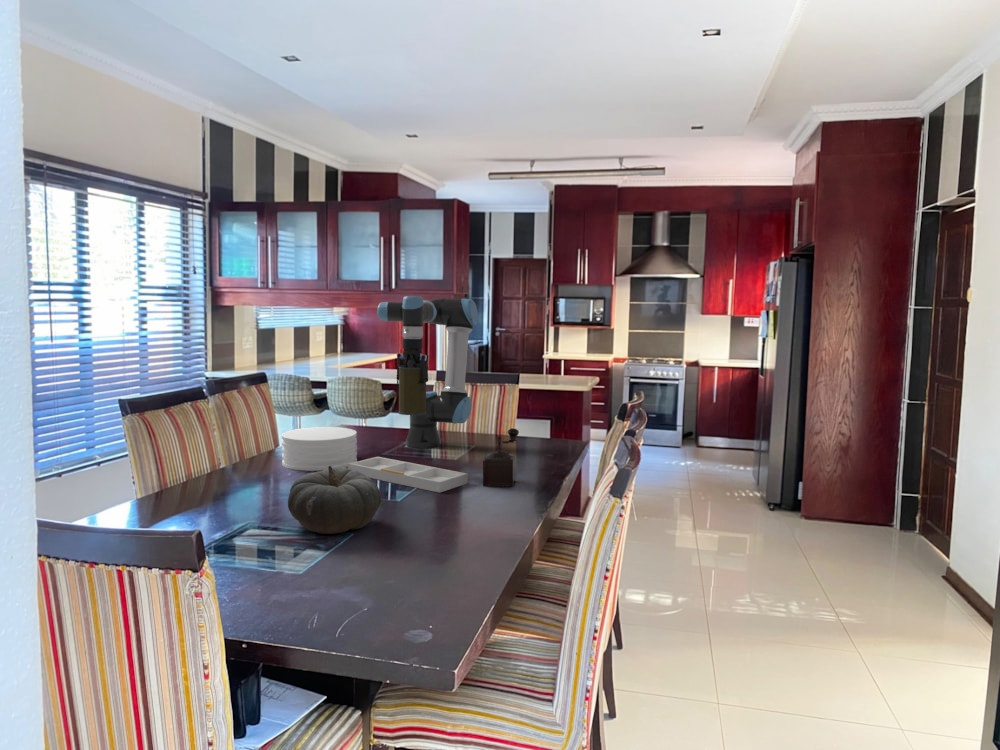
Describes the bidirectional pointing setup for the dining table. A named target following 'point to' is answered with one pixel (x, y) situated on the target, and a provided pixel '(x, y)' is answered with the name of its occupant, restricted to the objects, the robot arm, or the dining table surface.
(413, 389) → the canister
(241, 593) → the dining table surface
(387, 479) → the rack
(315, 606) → the dining table surface
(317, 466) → the plate stack
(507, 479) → the pepper mill
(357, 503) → the gourd
